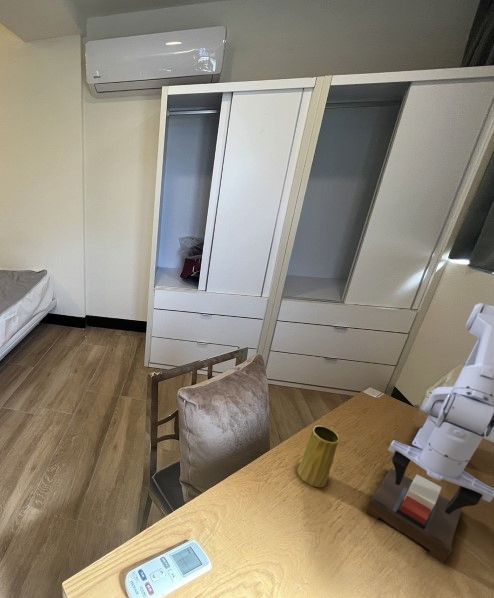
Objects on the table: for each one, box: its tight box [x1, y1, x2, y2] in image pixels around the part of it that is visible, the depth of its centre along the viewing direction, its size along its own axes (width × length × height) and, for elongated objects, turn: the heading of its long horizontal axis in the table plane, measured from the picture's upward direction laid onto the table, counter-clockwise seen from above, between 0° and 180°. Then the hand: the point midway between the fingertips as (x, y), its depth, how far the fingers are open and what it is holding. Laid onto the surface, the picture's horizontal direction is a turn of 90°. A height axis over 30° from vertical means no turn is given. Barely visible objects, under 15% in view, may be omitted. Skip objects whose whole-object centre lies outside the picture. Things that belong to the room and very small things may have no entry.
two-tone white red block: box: [396, 473, 443, 530], centre depth 67 cm, size 10×4×4 cm, turn 125°
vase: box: [296, 425, 341, 488], centre depth 74 cm, size 6×6×14 cm
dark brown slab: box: [365, 468, 463, 564], centre depth 67 cm, size 16×12×4 cm
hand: (422, 495), depth 66 cm, fingers open, 7 cm apart
